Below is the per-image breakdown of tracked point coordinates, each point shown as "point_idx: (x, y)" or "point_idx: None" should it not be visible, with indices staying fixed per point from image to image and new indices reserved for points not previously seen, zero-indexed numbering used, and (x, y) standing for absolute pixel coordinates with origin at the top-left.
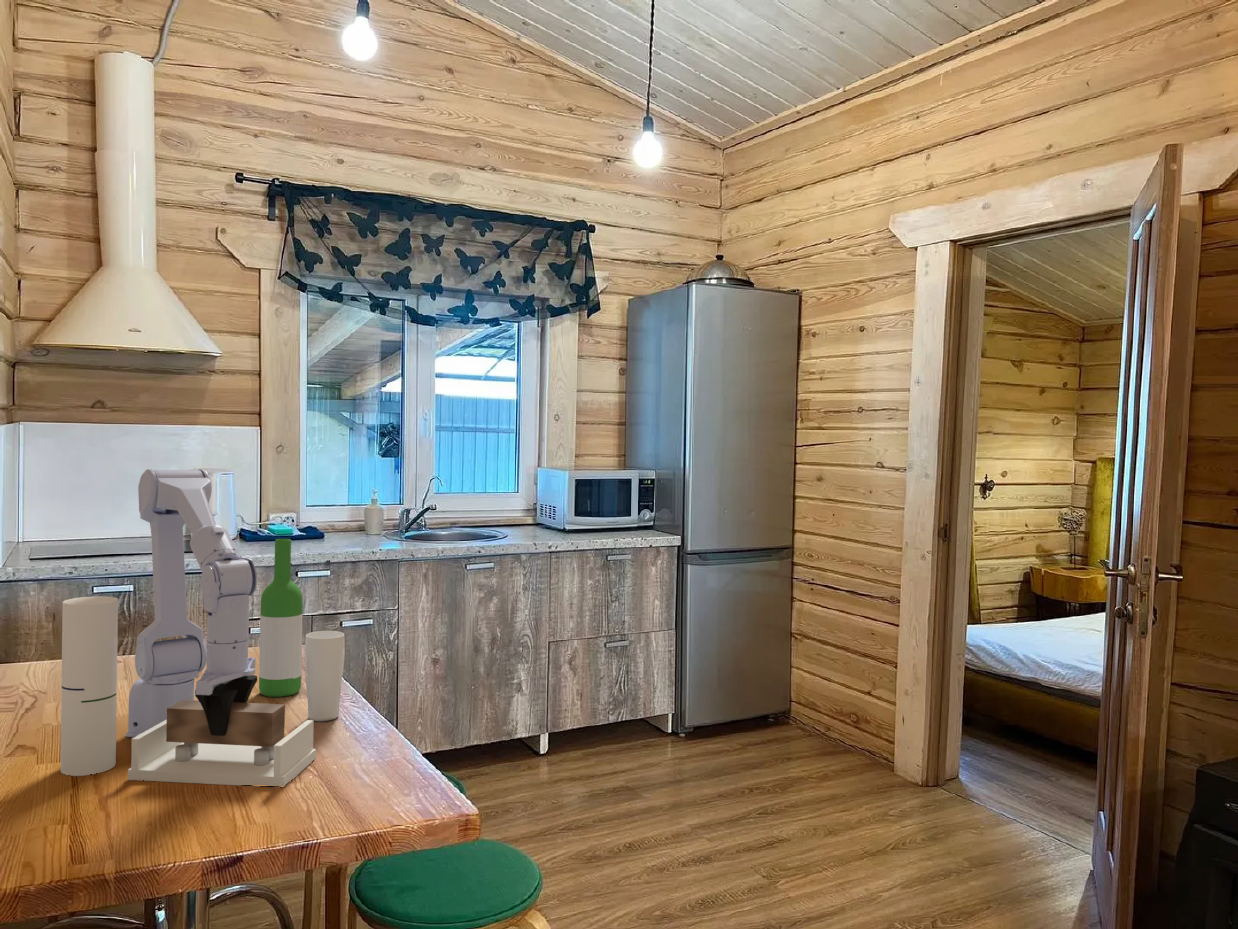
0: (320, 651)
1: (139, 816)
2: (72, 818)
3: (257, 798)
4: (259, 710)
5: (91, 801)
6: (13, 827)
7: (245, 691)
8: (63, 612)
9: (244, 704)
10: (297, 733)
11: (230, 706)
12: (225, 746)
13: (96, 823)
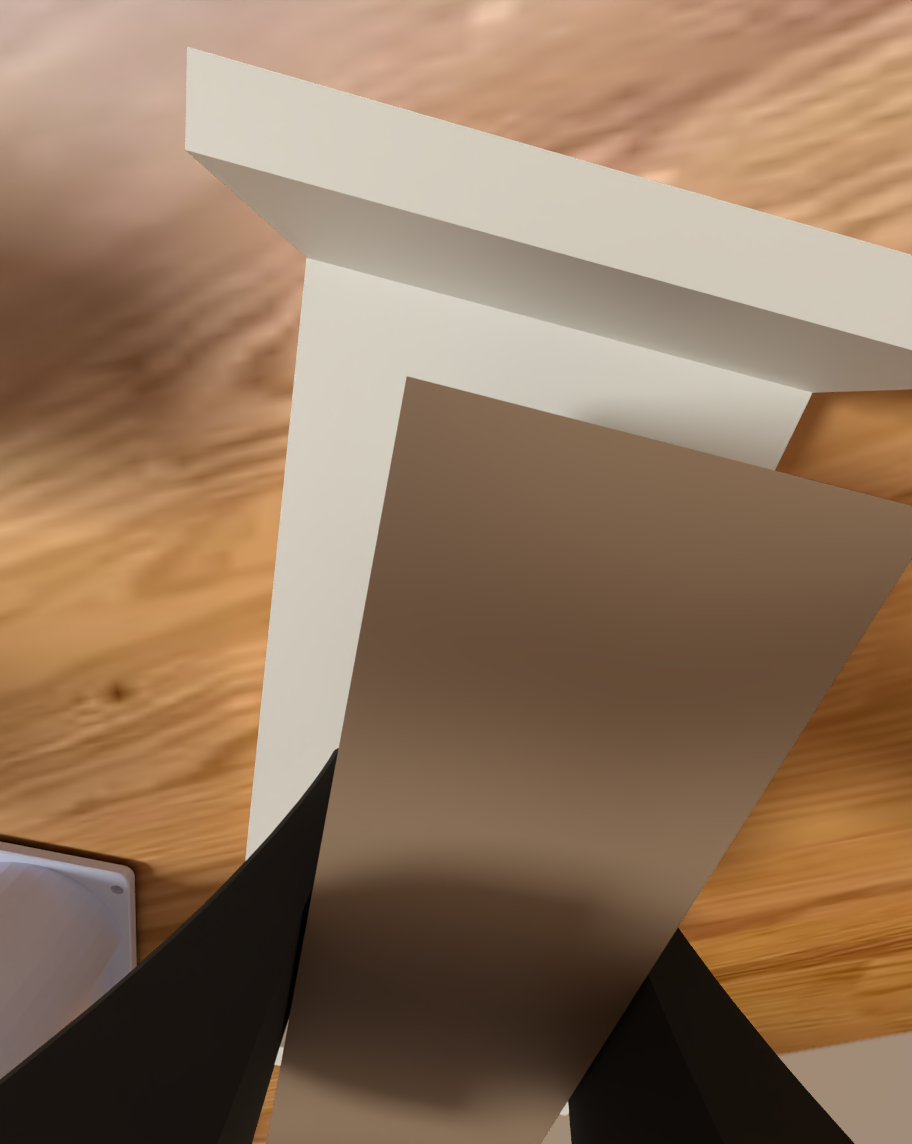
0: None
1: (898, 824)
2: (828, 960)
3: (900, 448)
4: (708, 724)
5: (702, 952)
6: (836, 1041)
7: (234, 1114)
8: None
9: (381, 906)
10: (671, 190)
11: (718, 1070)
12: (287, 720)
13: (901, 908)
